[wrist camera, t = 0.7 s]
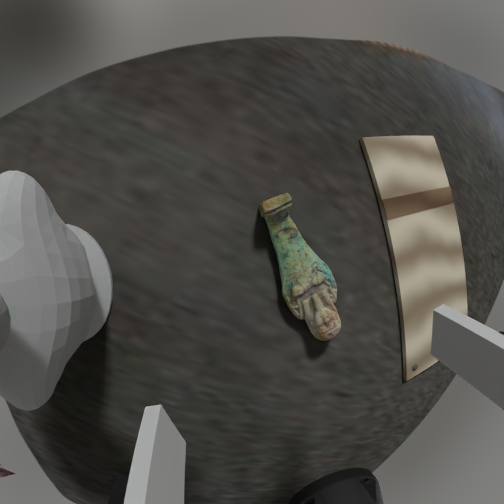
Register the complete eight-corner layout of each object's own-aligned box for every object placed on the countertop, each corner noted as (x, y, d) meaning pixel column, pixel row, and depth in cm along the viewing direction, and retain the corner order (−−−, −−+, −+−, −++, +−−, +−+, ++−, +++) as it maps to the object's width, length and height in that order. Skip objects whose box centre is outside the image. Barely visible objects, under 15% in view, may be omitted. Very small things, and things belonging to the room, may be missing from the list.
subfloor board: (463, 338, 32) (467, 340, 31) (403, 379, 30) (407, 381, 29) (429, 137, 31) (433, 135, 30) (359, 139, 29) (362, 137, 28)
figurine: (302, 193, 28) (314, 184, 25) (339, 325, 29) (355, 334, 25) (253, 206, 28) (259, 198, 24) (294, 343, 28) (306, 355, 24)
